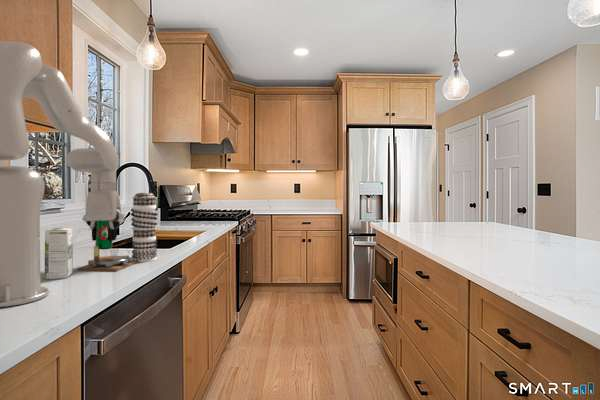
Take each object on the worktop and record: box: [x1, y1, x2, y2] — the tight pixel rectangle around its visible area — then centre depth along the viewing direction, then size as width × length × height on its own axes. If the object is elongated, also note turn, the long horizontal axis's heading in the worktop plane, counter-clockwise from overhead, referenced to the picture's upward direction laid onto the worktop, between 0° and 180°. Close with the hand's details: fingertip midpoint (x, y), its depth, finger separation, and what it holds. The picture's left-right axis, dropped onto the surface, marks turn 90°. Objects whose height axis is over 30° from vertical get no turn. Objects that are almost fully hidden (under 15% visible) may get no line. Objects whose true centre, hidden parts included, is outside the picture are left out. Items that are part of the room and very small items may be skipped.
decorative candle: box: [130, 192, 159, 263], centre depth 124 cm, size 9×9×25 cm
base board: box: [76, 260, 139, 272], centre depth 113 cm, size 13×13×1 cm
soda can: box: [94, 221, 114, 251], centre depth 114 cm, size 5×5×12 cm
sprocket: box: [87, 245, 133, 267], centre depth 114 cm, size 13×13×6 cm
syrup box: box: [44, 227, 74, 281], centre depth 99 cm, size 6×6×14 cm
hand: (104, 239), depth 115 cm, fingers closed on soda can, 5 cm apart
